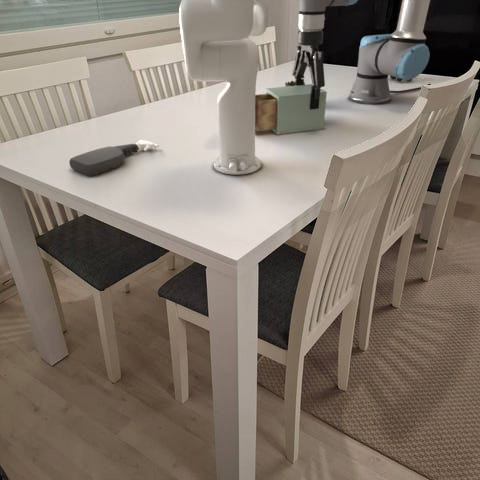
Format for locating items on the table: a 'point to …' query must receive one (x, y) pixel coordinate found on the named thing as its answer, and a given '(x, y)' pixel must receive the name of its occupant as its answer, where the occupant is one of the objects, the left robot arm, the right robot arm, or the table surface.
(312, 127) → the mint green storage box
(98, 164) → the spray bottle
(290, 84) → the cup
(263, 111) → the drawer
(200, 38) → the left robot arm
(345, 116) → the table surface
